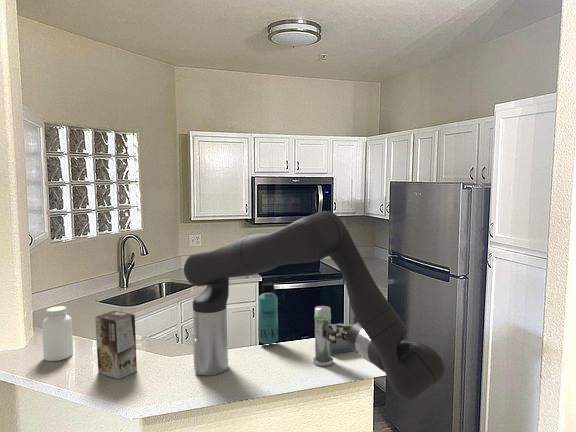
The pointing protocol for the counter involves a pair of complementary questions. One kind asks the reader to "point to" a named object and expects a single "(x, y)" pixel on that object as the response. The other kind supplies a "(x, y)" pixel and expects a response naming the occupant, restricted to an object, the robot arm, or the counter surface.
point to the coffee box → (116, 344)
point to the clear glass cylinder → (322, 338)
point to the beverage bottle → (268, 315)
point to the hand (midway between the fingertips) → (340, 322)
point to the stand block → (340, 346)
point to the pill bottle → (57, 334)
